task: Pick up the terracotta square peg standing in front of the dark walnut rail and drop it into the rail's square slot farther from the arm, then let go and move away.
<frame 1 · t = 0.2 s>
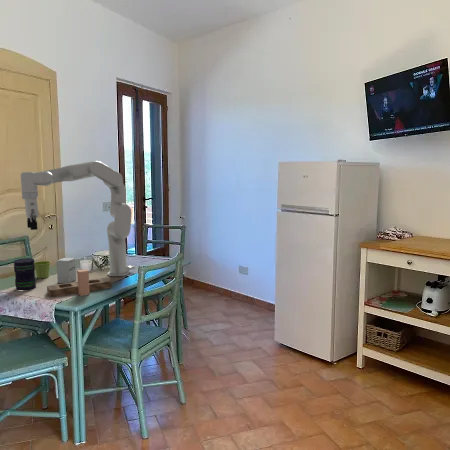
hand: (32, 228, 217), 31 cm above the table, tool pointing down, fingers open, 9 cm apart
peg: (84, 294, 206), on the table
rail: (80, 290, 213), on the table
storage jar: (26, 288, 217), on the table
supplement box: (67, 281, 230), on the table
plant pot: (42, 277, 239), on the table
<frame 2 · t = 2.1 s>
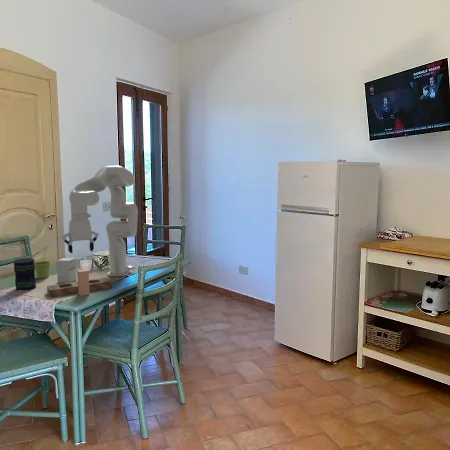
hand: (81, 251, 203), 21 cm above the table, tool pointing down, fingers open, 9 cm apart
nothing on the table moved.
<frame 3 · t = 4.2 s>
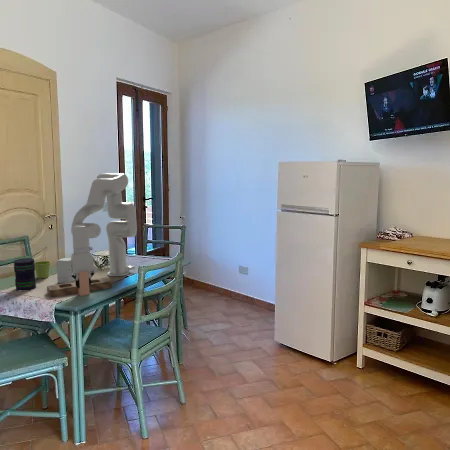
hand: (83, 286, 205), 4 cm above the table, tool pointing down, fingers closed on peg, 4 cm apart
peg: (84, 294, 206), on the table, touching gripper
everything else where it was.
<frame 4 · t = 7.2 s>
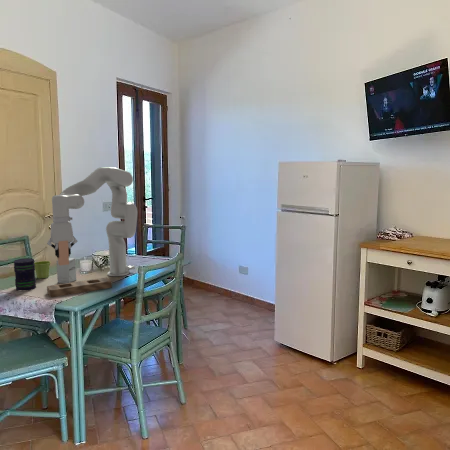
hand: (63, 256, 206), 19 cm above the table, tool pointing down, fingers closed on peg, 4 cm apart
peg: (63, 264, 207), point 15 cm above the table, touching gripper
everything else where it was.
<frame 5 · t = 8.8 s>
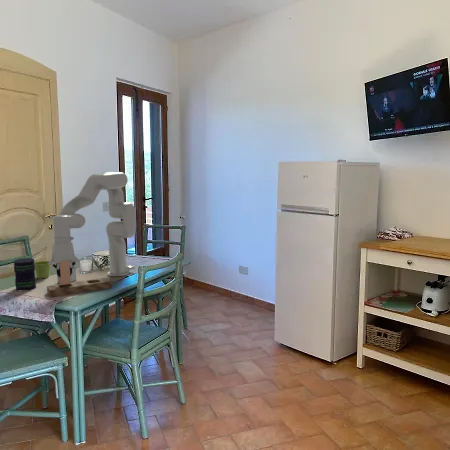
hand: (64, 275, 208), 9 cm above the table, tool pointing down, fingers closed on peg, 4 cm apart
peg: (65, 283, 208), point 5 cm above the table, touching gripper
everything else where it was.
when the fingers open (5 cm above the table, at t = 10.2 s): peg stays where it is, resting in rail.
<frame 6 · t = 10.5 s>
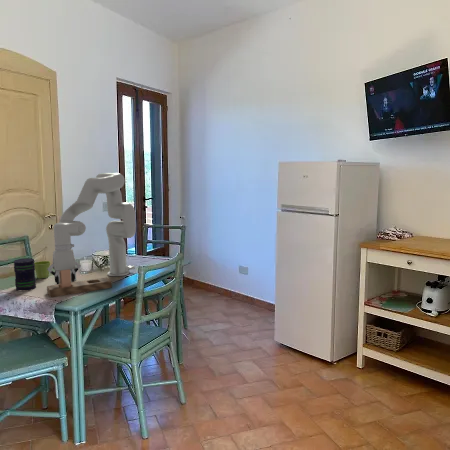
hand: (65, 282, 208), 5 cm above the table, tool pointing down, fingers open, 6 cm apart
peg: (66, 292, 209), resting in rail
everything else where it was.
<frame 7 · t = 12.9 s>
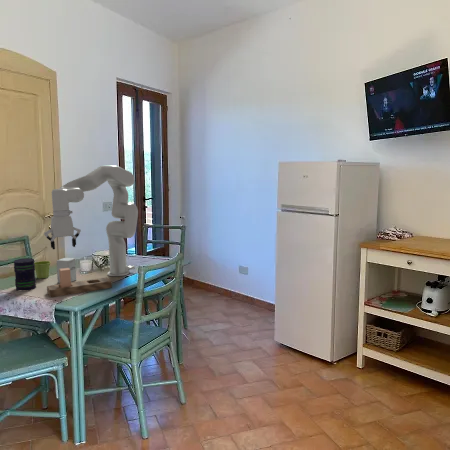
hand: (63, 247, 207), 23 cm above the table, tool pointing down, fingers open, 9 cm apart
nothing on the table moved.
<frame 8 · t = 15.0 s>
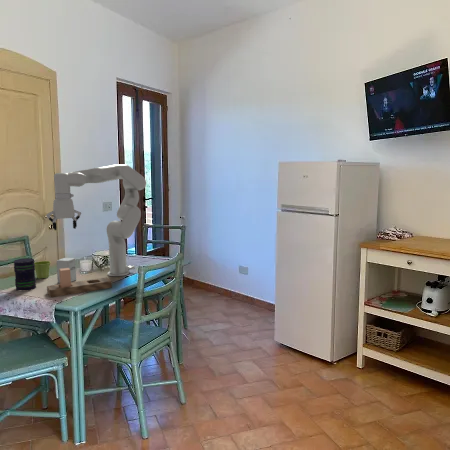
hand: (65, 229, 218), 30 cm above the table, tool pointing down, fingers open, 9 cm apart
nothing on the table moved.
at the end: peg 0.1 cm from the target spot on the rail, point 0.0 cm above the rail's base; peg tilted 0°; the gripper is holding nothing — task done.
